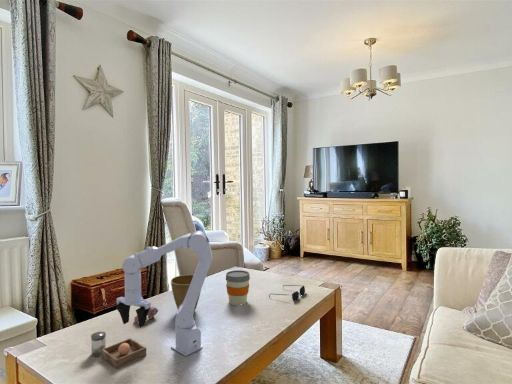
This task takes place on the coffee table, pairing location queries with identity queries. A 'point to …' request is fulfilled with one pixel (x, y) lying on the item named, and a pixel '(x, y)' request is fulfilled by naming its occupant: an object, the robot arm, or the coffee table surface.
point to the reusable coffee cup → (237, 286)
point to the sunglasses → (295, 294)
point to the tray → (120, 360)
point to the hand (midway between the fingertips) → (133, 324)
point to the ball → (124, 349)
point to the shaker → (98, 343)
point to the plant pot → (181, 288)
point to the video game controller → (149, 314)
